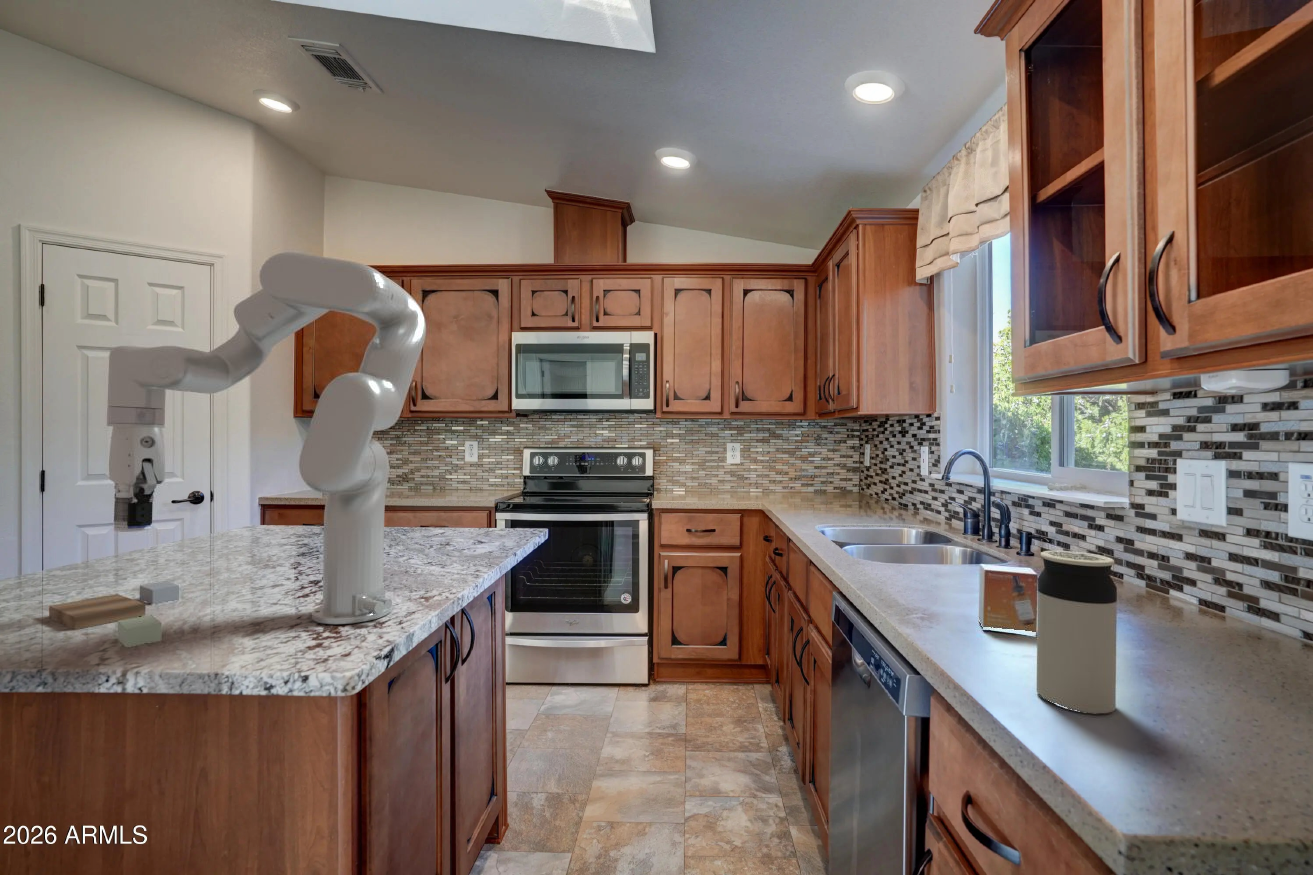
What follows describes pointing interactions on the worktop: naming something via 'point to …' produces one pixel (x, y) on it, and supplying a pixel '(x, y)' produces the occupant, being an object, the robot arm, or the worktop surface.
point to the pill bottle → (125, 510)
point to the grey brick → (159, 592)
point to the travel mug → (1077, 631)
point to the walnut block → (96, 611)
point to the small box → (1008, 597)
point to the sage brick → (139, 630)
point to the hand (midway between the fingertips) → (132, 523)
